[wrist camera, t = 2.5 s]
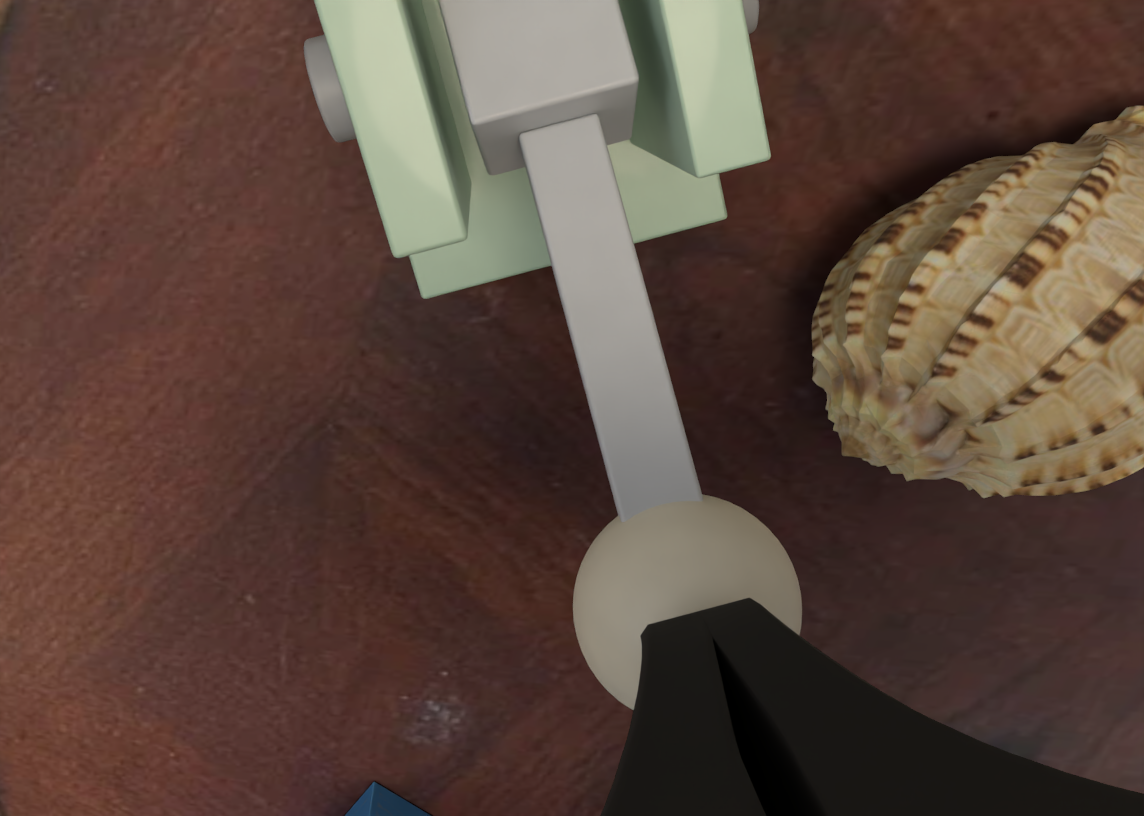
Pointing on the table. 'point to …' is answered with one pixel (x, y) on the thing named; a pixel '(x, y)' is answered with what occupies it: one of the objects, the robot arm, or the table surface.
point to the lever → (608, 325)
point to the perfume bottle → (383, 804)
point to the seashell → (998, 323)
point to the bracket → (505, 201)
